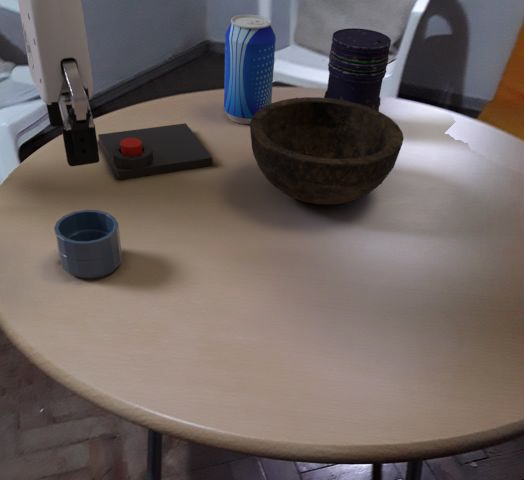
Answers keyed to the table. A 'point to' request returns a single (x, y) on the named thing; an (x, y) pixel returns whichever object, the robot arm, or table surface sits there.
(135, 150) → the button
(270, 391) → the table surface
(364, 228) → the table surface
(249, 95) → the beer can
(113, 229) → the small cup
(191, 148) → the base
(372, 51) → the storage jar
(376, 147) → the bowl
